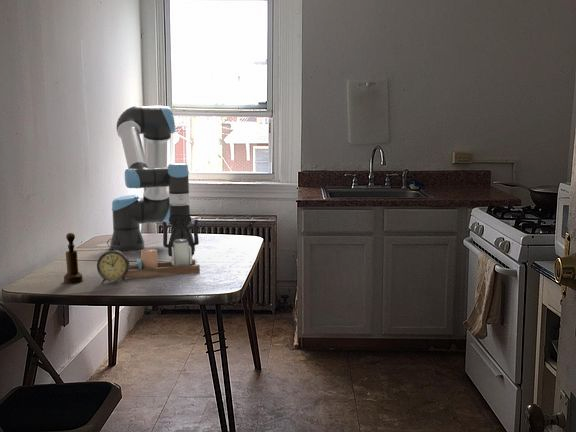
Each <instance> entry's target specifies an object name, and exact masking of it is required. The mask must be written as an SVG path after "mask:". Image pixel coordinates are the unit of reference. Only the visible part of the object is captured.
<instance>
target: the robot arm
mask: <svg viewBox="0 0 576 432" xmlns="http://www.w3.org/2000/svg"><path fill="white" fill-rule="evenodd" d="M175 124H176V123H175V117H174V114H173V111H172V109H171V107H169V106H167V105H166V106H164V105H148V106H145V105H143V106H142V105H141V106H139V105H136V106H131V107H129V108H127V109H125V110H124V111H123V112H122V113H121V114H120V115H119V117H118V119H117V122H116V133H117V136H118V137H119V138H120V140H121V143H122V148H123V151H124V157H125V161H126V164H127V169H125V170H124V183H125V187H126V188H128V189H146V191H144V192H143V197H139V195H138V194H129V195H123V196H119V197H116V198H114V199H113V200H112V202H111V211H112V227H113V229H112V230H113V232H112V236H111V238H110V239H115V240H116V241H117V245H116V241H115V240H110V241H109V242H110V243H109V246H110V247H109V249H110V250H111V246H113V247H114V246H115V245H116V246H115V247H114V248H113V249H114V250H118V251H121V252H124V251H135V250H139V249H140V250H142V249H143V248H145V239H144V238H143V237H144V236H143V235H142V233H141V229H140V228H141V227H140V224H142V225H143V224H156V223H158V224H160V223H161V224H162V226H163V231H162V233H163V234H162V235H163V236H162V246H163V248H167V251H168V252H167V253H168V254H167V255H168V257H170V259H171V263H172V265H175V264H174V248H173V247H172V245H173V241H174V238H175V234H176V231H177V229H180V228H182V229H184V230H185V232H186V235H187V238H188V240H189V243H190V246H189V261H190V264H192V260H193V256H194V255H195V251H194V246H195V247H196V246H198V245H199V244H200V241H199V231H198V223H199V220H198V219H197V218H192V217H191V212H190V211H191V210H190V204H189V203H190V183H189V182H190V181H189V180H190V179H189V174H190V173H189V166H188V164H187V163H185V162H184V163H183V162H179V163H178V162H177V163H175V162H174V163H173V162H172V163H169V164H168V162H167V161H168V141H169V140H171V138H172V137H171V136H172V135H171V134H174V133H175V132H176V125H175ZM142 134H143V138H144V139H145V140H146V142H147V143H146V145H147V146H146V152H147V153H146V154H147V156H146V155H145V151H144V147H143V143H142V138H141V135H142ZM167 187H168V191H167ZM190 223H191V224H192V225H193V228H192V229H193V231H192V232H193V239H194V242H193V240H192V238H191V235H190V232H189V229H188V227H189V224H190ZM169 224H170V225H171V226H172V228H171V233H170V237H169V239H168V226H169ZM192 255H193V256H192Z"/></svg>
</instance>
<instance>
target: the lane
mask: <svg viewBox="0 0 576 432" xmlns="http://www.w3.org/2000/svg"><path fill="white" fill-rule="evenodd" d="M134 265H137V263H136V264H135V263H134V264H133V263H132V264H129V266H134ZM200 267H201V266H200V264H196V259H192V264H190V265H186V266H174V265H172V263H171V261H170V260H169V261H158V268H149V269H137V268H129V270H128V272H127V274H126V275H125V276H124V278H125V280H131V279H142V278H153V277H164V276H165V277H166V276H178V275H188V274H189V275H190V274H200V273H201V269H200Z"/></svg>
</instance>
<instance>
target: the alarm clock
mask: <svg viewBox="0 0 576 432" xmlns="http://www.w3.org/2000/svg"><path fill="white" fill-rule="evenodd" d="M111 240H115V239H111V238H110V239H108V240H107V243H106V244H107V246H108V247H109V248H110V244H109V242H110V241H111ZM115 241H116V240H115ZM116 245H117V241H116ZM116 245H115V246H116ZM115 246H114V247H115ZM114 247H113V246H111V249H110V250H106V251H105V252H104V253H102V255H101V254H100V256H99V258H98V260H97V263H96V270H97V273H98V275H99V276H100V277H101V278H102V281H101V284H102V285H103V284H104V282H105V281H108V282H118V281H120V280H123V281H124V283H126V284H127V283H128V281H127V279H125V278H124V276H125V275H126V274H127V272H128V270H129V265H130V261H129V258H128V257H127V255H126V254H125V253H124V251H118V250H114V249H113V248H114Z"/></svg>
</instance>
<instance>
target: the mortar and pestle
mask: <svg viewBox="0 0 576 432" xmlns="http://www.w3.org/2000/svg"><path fill="white" fill-rule="evenodd" d="M75 235H76V234H74V232H68V233H67V234H66V236H65V238H66V241H67V242H68V244H67V249H68V250H67V251H65V259H66V260H65V261H66V271H67V272H66V273H65V274H64V275H63V282H64V283H65V284H68V283H72V284H77V283H81V282H83V281H84V279H83V274H82V273H81V272H79V263H78V262H79V260H78V251H77V250H75V244H74V241H75V238H76V236H75Z"/></svg>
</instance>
